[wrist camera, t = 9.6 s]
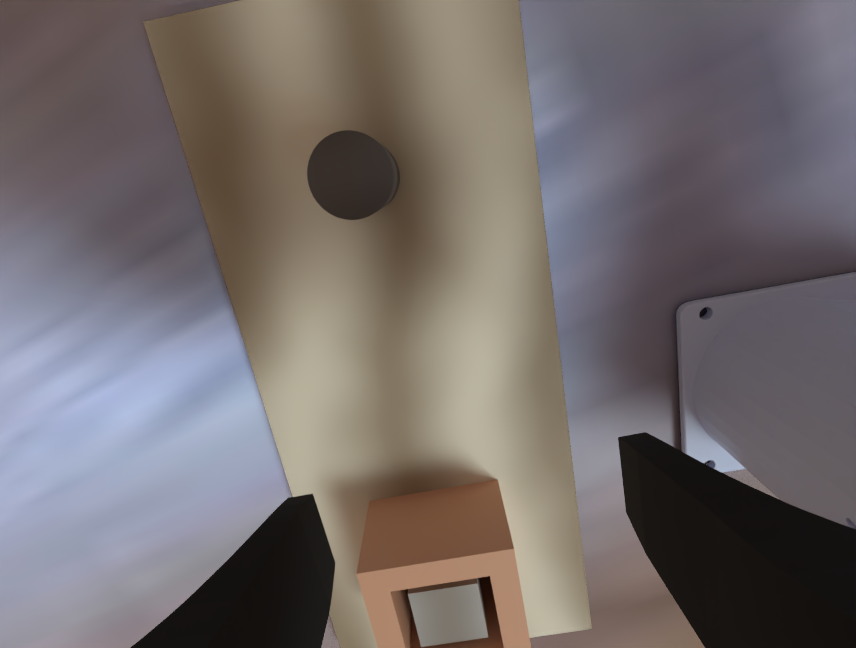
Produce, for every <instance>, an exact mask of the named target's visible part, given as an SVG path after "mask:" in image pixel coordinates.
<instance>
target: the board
mask: <svg viewBox="0 0 856 648" xmlns="http://www.w3.org/2000/svg"><path fill="white" fill-rule="evenodd" d="M143 23H144V27H145V30H146V33H147V36H148V39H149V42H150V46H151V49H152V52H153V55H154V58H155V62H156V65H157V68H158V71H159V74H160V77H161V81H162V84H163V87H164V90H165V93H166V96H167V100H168V103H169V106H170V109H171V112H172V115H173V119H174V122H175V125H176V128H177V131H178V135H179V138H180V141H181V144H182V147H183V150H184V154H185V157H186V160H187V163H188V166H189V169H190V173H191V176H192V179H193V182H194V185H195V188H196V192H197V195H198V198H199V201H200V204H201V207H202V211H203V214H204V217H205V220H206V223H207V227H208V230H209V233H210V236H211V239H212V242H213V246H214V249H215V252H216V255H217V258H218V261H219V265H220V268H221V271H222V274H223V277H224V280H225V284H226V287H227V290H228V293H229V296H230V300H231V303H232V306H233V309H234V312H235V315H236V319H237V322H238V325H239V328H240V331H241V334H242V338H243V341H244V344H245V347H246V350H247V353H248V357H249V360H250V363H251V366H252V369H253V372H254V376H255V379H256V382H257V385H258V388H259V392H260V395H261V398H262V401H263V404H264V407H265V411H266V414H267V417H268V420H269V423H270V426H271V430H272V433H273V436H274V439H275V442H276V445H277V449H278V452H279V455H280V458H281V461H282V465H283V468H284V471H285V474H286V477H287V480H288V484H289V487H290V490H291V493H292V496H293V497H297V496H302V495H307V494H313V496H314V499H315V502H316V505H317V508H318V511H319V514H320V517H321V520H322V523H323V526H324V529H325V532H326V536H327V539H328V542H329V545H330V548H331V551H332V554H333V557H334V560H335V572H334V582H333V591H332V599H331V606H330V611H329V614H330V617H331V620H332V623H333V626H334V630H335V633H336V636H337V639H338V642H339V645H340V648H378V646H377V643H376V639H375V636H374V632H373V629H372V626H371V622H370V619H369V615H368V612H367V609H366V605H365V602H364V598H363V595H362V592H361V588H360V585H359V581H358V578H357V575H356V573H357V567H358V562H359V556H360V551H361V545H362V539H363V534H364V528H365V523H366V517H367V511H368V506H369V501H373V500H379V499H385V498H391V497H397V496H402V495H408V494H414V493H420V492H426V491H432V490H438V489H444V488H450V487H456V486H462V485H468V484H474V483H480V482H486V481H492V480H498V483H499V487H500V491H501V496H502V500H503V504H504V508H505V513H506V517H507V521H508V525H509V529H510V534H511V538H512V542H513V546H514V551H515V557H516V563H517V569H518V574H519V580H520V586H521V592H522V597H523V603H524V609H525V615H526V621H527V626H528V632H529V638H531V637H538V636H545V635H552V634H559V633H566V632H572V631H579V630H586V629H592V627H591V619H590V610H589V602H588V593H587V584H586V576H585V567H584V558H583V550H582V541H581V533H580V524H579V515H578V507H577V498H576V489H575V481H574V472H573V463H572V455H571V446H570V438H569V429H568V420H567V412H566V403H565V394H564V386H563V377H562V369H561V360H560V351H559V343H558V334H557V325H556V317H555V308H554V299H553V291H552V282H551V274H550V265H549V256H548V248H547V239H546V230H545V222H544V213H543V205H542V196H541V187H540V179H539V170H538V161H537V153H536V144H535V136H534V127H533V118H532V110H531V101H530V92H529V84H528V75H527V66H526V58H525V49H524V41H523V32H522V23H521V15H520V6H519V0H240V1H235V2H230V3H226V4H221V5H217V6H212V7H208V8H203V9H199V10H194V11H190V12H185V13H180V14H176V15H171V16H167V17H162V18H158V19H153V20H149V21H144V22H143ZM408 597H409V601H410V605H411V609H412V613H413V617H414V621H415V625H416V629H417V633H418V637H419V640H420V644H421V647H425V646H432V645H439V644H446V643H453V642H460V641H467V640H473V639H480V638H487V637H488V631H487V624H486V617H485V609H484V602H483V594H482V587H481V579H480V578H474V579H468V580H462V581H455V582H449V583H443V584H436V585H430V586H424V587H417V588H411V589H408Z"/></svg>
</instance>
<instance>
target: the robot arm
mask: <svg viewBox="0 0 856 648" xmlns="http://www.w3.org/2000/svg"><path fill="white" fill-rule="evenodd" d="M705 307H707V313H706V314H705V315H704V316H702V317H700V316H699V314H700V311H701V310H702V309H703V308H705ZM676 323H677V348H678V372H679V397H680V421H681V446H682V451H680V450H678V449H676V448H674V447H672V446H670V445H669V444H667V443H665V442H663V441H661V440H659V439H657V438H656V437H654V436H652V435H650V434H648V433H639V434H634V435H628V436H623V437H618V440H619V449H620V459H621V468H622V477H623V486H624V496H625V505H626V513H627V515H628V517H629V519H630V521H631V523H632V526H633V528H634V530H635V532H636V534H637V536H638V538H639V540H640V542H641V544H642V546H643V549H644V551H645V553H646V554H647V556H648V558H649V559H650V561H651V563H652V564H653V566H654V567H655V569H656V571H657V572H658V574H659V575H660V577H661V579H662V580H663V582H664V583H665V585H666V587H667V588H668V590H669V591H670V593H671V594H672V596H673V598H674V599H675V601H676V602H677V604H678V605H679V607H680V609H681V610H682V612H683V613H684V615H685V616H686V618H687V620H688V621H689V623H690V624H691V626H692V627H693V629H694V631H695V632H696V634H697V635H698V637H699V638H700V640H701V642H702V643H703V645H704V646H705V648H856V272H852V273H846V274H840V275H835V276H829V277H824V278H818V279H812V280H807V281H801V282H796V283H790V284H784V285H779V286H773V287H767V288H762V289H756V290H751V291H745V292H739V293H734V294H728V295H723V296H717V297H711V298H706V299H700V300H694V301H689V302H686V303H683V304H682V305H681V306H680V307H679V308H678V310H677V314H676ZM709 460H710V462H709V463H708V464H707V465H706V464H704V463H705V462H706V461H709ZM741 469H747V470H748V471H749V472H750V473H751V474H752V475H753V476H754V477H756V478H757V479H758V480H759V481H760V482H761V483H762V484H763V485H764V486H766V487H767V488H768V489H769V490H770V491H771V492H772V493H773V494H774V495H775V496H777V497H778V498H779V499H780V500H779V499H777V498H774V497H772V496H770V495H768V494H765V493H763V492H761V491H759V490H757V489H754V488H752V487H750V486H748V485H746V484H744V483H742V482H740V481H738V480H735V479H733V478H731V477H729V476H727V475H725V474H723V473H722V472H729V471H735V470H741ZM334 572H335V560H334V557H333V554H332V551H331V548H330V545H329V542H328V539H327V536H326V532H325V529H324V526H323V523H322V520H321V517H320V514H319V511H318V508H317V505H316V502H315V499H314V496H313V494H307V495H302V496H297V497H291V498H288V499H287V500H285V501H284V502H283V503H282V504H281V505H280V506H279V507H278V508H277V509H276V510H275V511H274V512H273V513H272V514H271V515H270V516H269V517H268V518H267V519H266V521H265V522H264V523H263V524H262V525H261V526H260V527H259V528H258V529H257V530H256V531H255V532H254V533H253V534H252V535H251V536H250V537H249V538H248V540H247V541H246V542H245V543H244V544H243V545H242V546H241V547H240V548H239V549H238V550H237V551H236V552H235V553H234V554H233V555H232V556H231V557H230V558H229V559H228V560H227V561H226V562H225V563H224V564H223V565H222V566H221V567H220V568H219V569H218V570H217V571H216V572H215V573H214V574H213V575H212V576H211V577H210V578H209V579H208V580H207V581H206V582H205V583H204V584H203V585H202V586H201V587H200V588H199V589H198V590H197V591H196V592H195V593H193V594H192V595H191V596H190V597H189V598H188V599H187V600H186V601H185V602H184V603H183V604H182V605H181V606H179V607H178V608H177V609H176V610H175V611H174V612H173V613H172V614H170V615H169V616H168V617H167V618H166V619H165V620H163V621H162V622H161V623H160V624H159V625H158V626H156V627H155V628H154V629H153V630H152V631H150V632H149V633H148V634H147V635H146V636H144V637H143V638H142V639H141V640H140V641H138V642H137V643H136V644H135V645H133V646H132V647H131V648H321V645H322V641H323V637H324V633H325V628H326V624H327V620H328V616H329V611H330V606H331V599H332V591H333V582H334Z"/></svg>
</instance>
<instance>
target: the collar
mask: <svg viewBox="0 0 856 648" xmlns="http://www.w3.org/2000/svg"><path fill="white" fill-rule="evenodd" d="M356 575H357V578H358V581H359V585H360V588H361V592H362V595H363V598H364V602H365V605H366V609H367V612H368V615H369V619H370V622H371V626H372V629H373V632H374V636H375V639H376V643H377V646H378V648H531V644H530V638H529V632H528V626H527V621H526V615H525V609H524V603H523V597H522V592H521V586H520V580H519V574H518V569H517V563H516V557H515V551H514V546H513V542H512V538H511V534H510V529H509V525H508V521H507V517H506V513H505V508H504V504H503V500H502V496H501V491H500V487H499V483H498V480H492V481H486V482H480V483H474V484H468V485H462V486H456V487H450V488H444V489H438V490H432V491H426V492H420V493H414V494H408V495H402V496H397V497H391V498H385V499H379V500H373V501H369V506H368V511H367V517H366V523H365V528H364V534H363V539H362V545H361V551H360V556H359V562H358V567H357V573H356ZM474 578H480V579H481V587H482V594H483V602H484V609H485V617H486V624H487V631H488V637H487V638H480V639H473V640H467V641H460V642H453V643H446V644H439V645H432V646H425V647H421V644H420V640H419V637H418V633H417V629H416V625H415V621H414V617H413V613H412V609H411V605H410V601H409V597H408V589H411V588H417V587H424V586H430V585H436V584H443V583H449V582H455V581H462V580H468V579H474Z"/></svg>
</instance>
